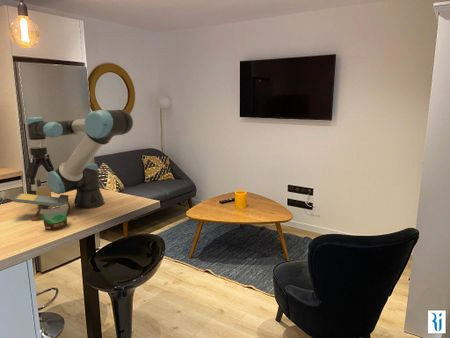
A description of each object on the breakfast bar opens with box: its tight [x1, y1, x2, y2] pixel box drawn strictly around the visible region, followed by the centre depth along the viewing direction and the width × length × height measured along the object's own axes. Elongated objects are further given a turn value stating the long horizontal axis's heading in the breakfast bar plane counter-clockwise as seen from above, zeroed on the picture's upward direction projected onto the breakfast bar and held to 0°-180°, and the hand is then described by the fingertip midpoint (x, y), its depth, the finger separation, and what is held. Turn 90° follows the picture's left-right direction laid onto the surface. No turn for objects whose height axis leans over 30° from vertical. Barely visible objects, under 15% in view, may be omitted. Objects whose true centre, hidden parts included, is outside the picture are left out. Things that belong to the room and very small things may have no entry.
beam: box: [13, 193, 70, 207], centre depth 164 cm, size 22×10×4 cm, turn 107°
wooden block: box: [36, 185, 52, 208], centre depth 179 cm, size 5×5×11 cm
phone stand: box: [27, 179, 42, 195], centre depth 188 cm, size 9×6×12 cm, turn 88°
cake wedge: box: [40, 202, 69, 231], centre depth 149 cm, size 12×6×10 cm, turn 148°
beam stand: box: [31, 202, 71, 222], centre depth 166 cm, size 15×13×6 cm
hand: (42, 187), depth 178 cm, fingers open, 13 cm apart
